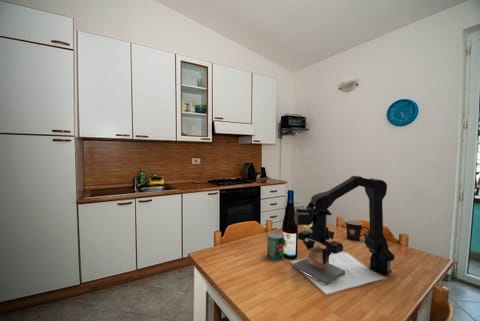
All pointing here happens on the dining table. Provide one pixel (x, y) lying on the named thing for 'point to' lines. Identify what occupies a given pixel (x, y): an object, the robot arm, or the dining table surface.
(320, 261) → the terracotta cube
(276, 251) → the canned tomato
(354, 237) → the coffee mug
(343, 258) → the dining table surface
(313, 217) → the robot arm
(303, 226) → the pale yellow rounded lump
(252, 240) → the dining table surface
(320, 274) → the charcoal board
